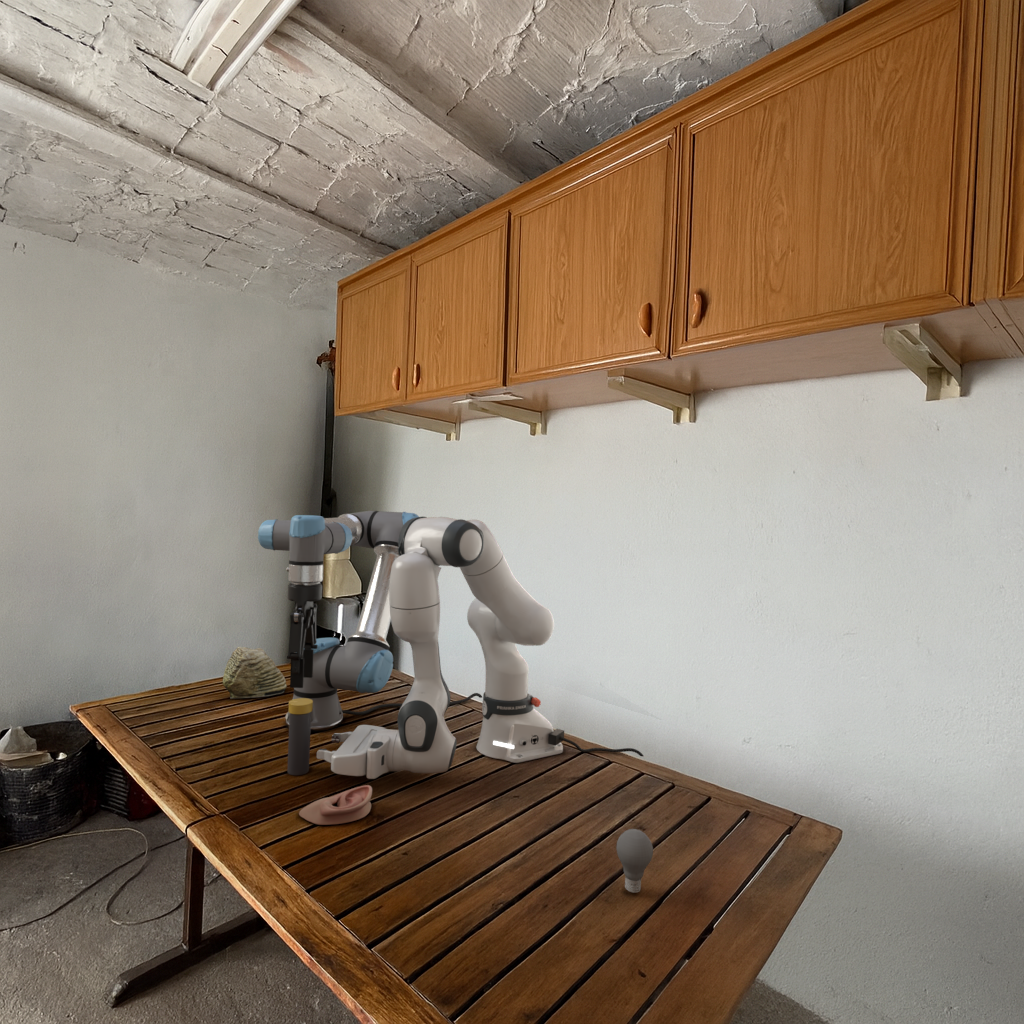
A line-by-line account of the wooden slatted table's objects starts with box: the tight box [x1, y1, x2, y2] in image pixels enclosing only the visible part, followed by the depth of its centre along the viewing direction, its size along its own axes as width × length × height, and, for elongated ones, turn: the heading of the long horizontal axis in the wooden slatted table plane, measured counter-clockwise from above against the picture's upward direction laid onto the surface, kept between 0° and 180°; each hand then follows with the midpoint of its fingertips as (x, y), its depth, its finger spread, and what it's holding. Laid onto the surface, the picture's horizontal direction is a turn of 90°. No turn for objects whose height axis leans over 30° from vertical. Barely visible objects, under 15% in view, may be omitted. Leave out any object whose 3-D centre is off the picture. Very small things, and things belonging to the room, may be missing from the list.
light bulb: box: [615, 828, 654, 894], centre depth 106 cm, size 6×6×10 cm
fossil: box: [222, 646, 288, 699], centre depth 198 cm, size 9×18×15 cm, turn 132°
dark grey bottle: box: [286, 712, 311, 776], centre depth 146 cm, size 5×5×16 cm
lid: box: [287, 698, 313, 714], centre depth 145 cm, size 5×5×2 cm
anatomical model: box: [298, 784, 373, 826], centre depth 127 cm, size 13×4×12 cm
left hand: (301, 681), depth 145 cm, fingers open, 7 cm apart
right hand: (325, 745), depth 145 cm, fingers open, 8 cm apart
